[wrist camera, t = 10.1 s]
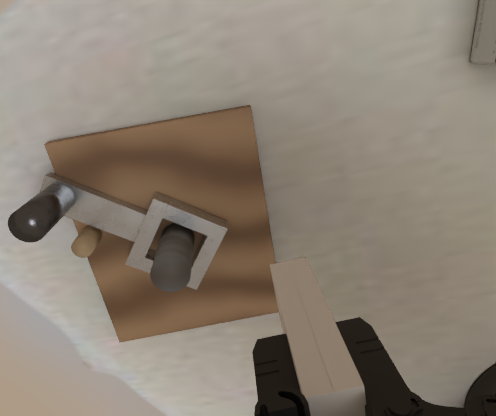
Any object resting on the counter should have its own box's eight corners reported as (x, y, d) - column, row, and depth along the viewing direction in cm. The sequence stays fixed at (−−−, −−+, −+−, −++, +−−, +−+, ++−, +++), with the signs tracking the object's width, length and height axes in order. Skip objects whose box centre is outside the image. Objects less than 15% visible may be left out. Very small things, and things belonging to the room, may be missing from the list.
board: (281, 304, 42) (295, 357, 34) (122, 334, 41) (102, 394, 34) (249, 105, 33) (259, 118, 26) (50, 141, 33) (2, 165, 25)
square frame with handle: (227, 221, 36) (230, 256, 29) (197, 279, 38) (194, 325, 31) (56, 150, 32) (16, 173, 25) (34, 220, 34) (-8, 258, 28)
